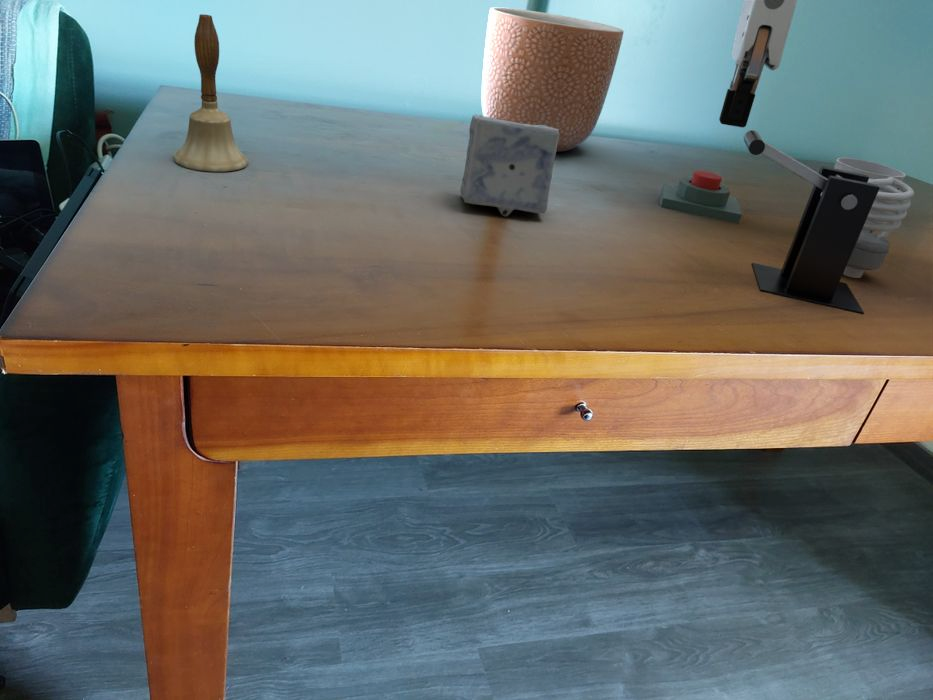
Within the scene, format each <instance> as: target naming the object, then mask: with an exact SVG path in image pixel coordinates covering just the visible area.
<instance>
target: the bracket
mask: <svg viewBox="0 0 933 700" xmlns="http://www.w3.org/2000/svg"><path fill="white" fill-rule="evenodd" d="M818 173H819V174H821V175H822V176H824V177H826V178H827V179H828V180H827V183H826V185H825V188H824V190H822V189H820V188H818V187H817V186H815V185H813V187H812V189H811V191H810V194H809V197H808V199H807V202H806V206H805V207H804V210H803V213H802V214H801V215H802V216H801V217H800V220H799V223H798V225H797V229H796V230H795V234H794V237H793V239H792V242H791V244H790V247H789V250H788V252H787V253H786V256H785V260H784V262H783V264H782V268H779V267H774V266H770V265H765V264H760V263H756V262H752V263H751V268H752V270H753V274H754V277H755V280H756V281H755V282H756V283H757V287H758V290H759V292H761V293H766V294H770V295H775V296H779V297H783V298H788V299H793V300H797V301H802V302H806V303H810V304H815V305H820V306H824V307H829V308H832V309H837V310H842V311H846V312H851V313H854V314H859V315H864V314H865V312H864V309H863V308H862V307H861V304H860V303H859V301H858V300H857V298H856V296H855V295H854V293H853V291H852V289H851V288H850V287H849V285H848V283H846V282H842V281H841V279H842V277H843V273H844V270H845V268H846V266H847V263H848V261H849V259H850V256H851V254H852V252H853V249H854V247H855V245H856V242H857V240H858V238H859V235H860V233H861V231H862V228H863V226H864V224H865V221H866V219H867V217H868V214H869V212H870V210H871V207H872V205H873V203H874V201H875V198H876V196H877V194H878V191H879V189H880V187H879V186H878V185H875V184H870V183H867V182H868V180H869V177H868V176H867V175H864V174H859V173H854V172H849V171H844V170H839V169H834V167H830V166H829V167H828V166H822V165H821V167H820V169H819V172H818ZM836 174H837V175H839V176H841V177H842V178H840V177H835V175H836ZM822 191H823V193H822ZM821 193H822V195H821V196H820V194H821Z"/></svg>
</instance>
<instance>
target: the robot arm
mask: <svg viewBox="0 0 933 700" xmlns="http://www.w3.org/2000/svg"><path fill="white" fill-rule="evenodd" d="M797 3H798V0H744V1H743V3H742V7H741V11H740V14H739V19H738V23H737V27H736V30H735V36H734V40H733V44H732V48H731V49H732V50H731V58H732V60H733V61H734V62H735V65H734V69H733V73H732V76H731V80H730V84H729V88H727V90H726V94H725V97H724V99H723V100H724V101H723V104H722V108H721V111H720V115H719V117H718V120H719V122H720V124H721V125H725V126H731V127H738V128H743V129H744V128H746V127H747V125H748V122H749V117H750V115H751V111H752V109H753V108H752V107H753V104H754V101H755V99H756V91H757V88H758V85H759V82H760V79H761V76H762V72H763V70H764V67H766V68H767V69H769V70H770V71H775V70H777V69H778V68H779V67H780V65H781V61H782V58H783V54H784V51H785V47H786V43H787V39H788V35H789V33H790V29H791V25H792V21H793V17H794V15H795V11H796V7H797Z"/></svg>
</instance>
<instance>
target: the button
mask: <svg viewBox="0 0 933 700" xmlns="http://www.w3.org/2000/svg"><path fill="white" fill-rule="evenodd" d="M691 178H692V181H691V184H692V185H694V186H697V187H700V188H704V189H709V190H718V189H719V186H720V184H722V183H721V182H722V180H723V177H722V175H721V176H720V175H719V174H717V173H714V172H710V171H704V170H694V171H693V175H692V177H691Z"/></svg>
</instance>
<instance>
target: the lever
mask: <svg viewBox="0 0 933 700" xmlns="http://www.w3.org/2000/svg"><path fill="white" fill-rule="evenodd" d="M743 141H744V143H745V145H746V148H747V150H748V152H749V154H751V155H753V156H759V155H763V156H764V157H765V158H768V159H769V160H771V161H773V162H774V163H776V164H778V165H779V166H781V167H783V168H785V169H786V170H787V171H789V172H791V173H793V174H795V175H796V176H798V177H800V178H801V179H803V180H804V181H807V182H808V183H810V184H812V185H813V186H814V185H815V186H817V187H818V188H820V189H822V190H824V188H825V185H826V183H827V180H828V179H827V178H826V177H824V176H822V175H821V174H819V172H817V171H815V170H814V169H813V168H811V167H809V166H807V165H805V164H804V163H802V162H800V161H798V160H797V159H795V158H794V157H792V156H790V155H789V154H787V153H785V152H784V151H781V150H780V149H778V148H776V147H775V146H773V145H772V144H769V142H766V141H765V140H763V139H762V137H761V135H760V134H759V132H758V131H757V130H753V129H751V130H748V131H746V133H745V134H744V136H743ZM835 177H840V178H842V177H841V176H839V175H837V174H836V175H835ZM822 193H823V191H822ZM822 193H821V194H820V196H821V195H822Z"/></svg>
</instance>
